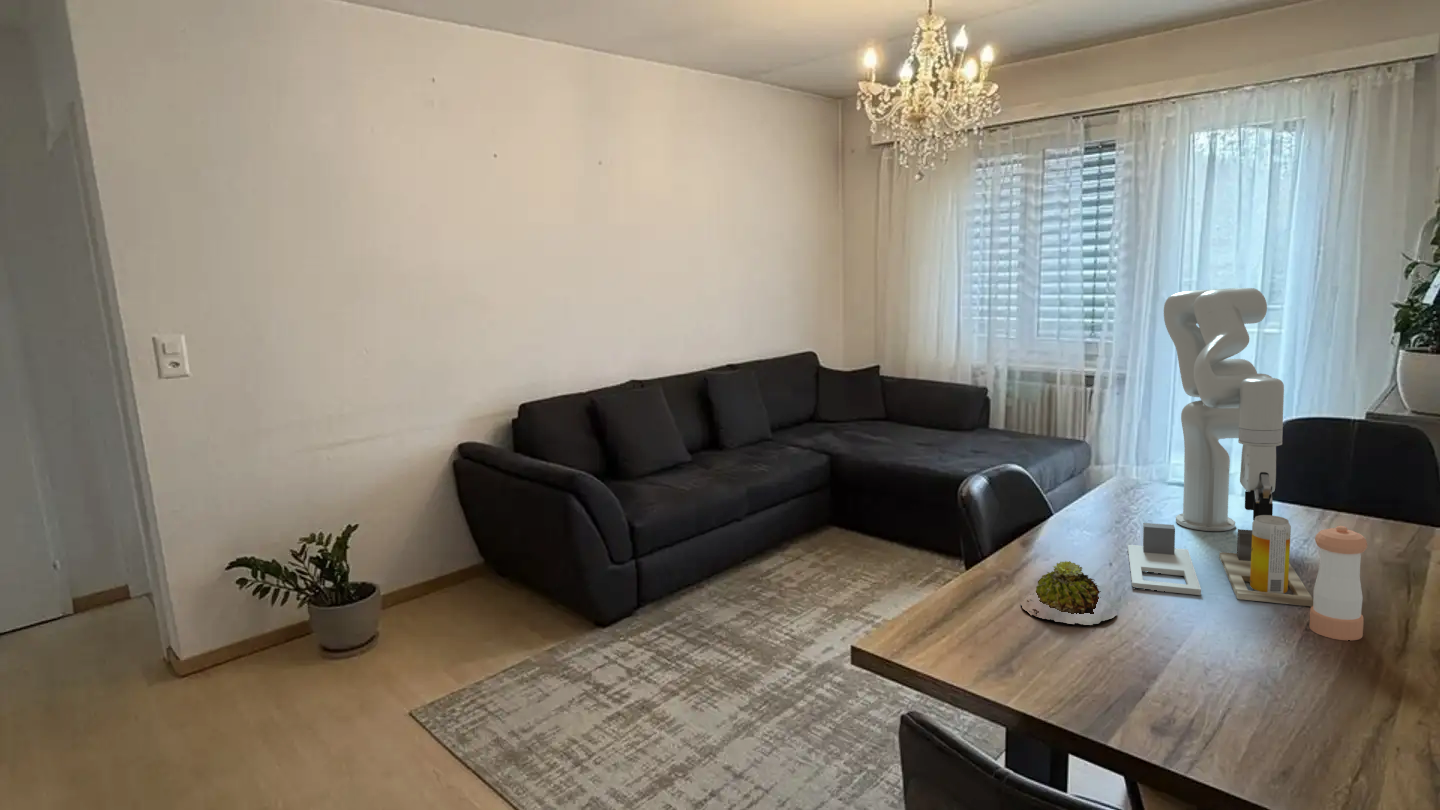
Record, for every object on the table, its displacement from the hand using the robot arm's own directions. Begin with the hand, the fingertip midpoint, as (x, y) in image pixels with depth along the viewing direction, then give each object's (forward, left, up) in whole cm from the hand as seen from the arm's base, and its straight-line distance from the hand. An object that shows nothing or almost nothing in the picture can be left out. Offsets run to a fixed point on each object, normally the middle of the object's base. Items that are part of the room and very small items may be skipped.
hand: (1258, 515), depth 161 cm
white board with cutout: (+8, -18, -11) cm, 23 cm away
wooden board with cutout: (+8, 0, -11) cm, 14 cm away
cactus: (+34, -36, -12) cm, 51 cm away
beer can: (+14, 0, -12) cm, 18 cm away
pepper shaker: (+30, +7, -12) cm, 33 cm away
